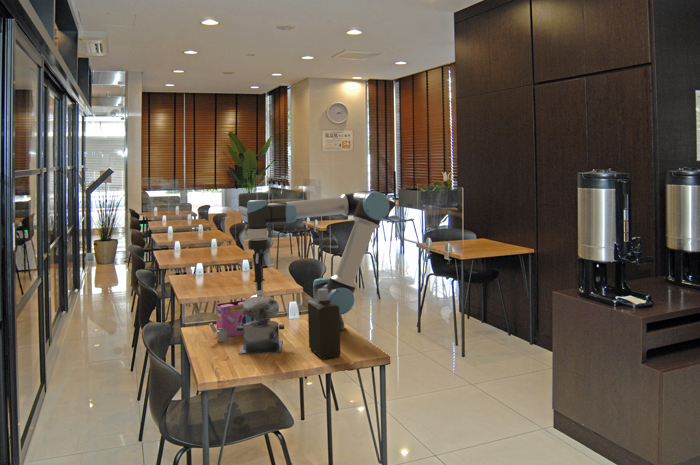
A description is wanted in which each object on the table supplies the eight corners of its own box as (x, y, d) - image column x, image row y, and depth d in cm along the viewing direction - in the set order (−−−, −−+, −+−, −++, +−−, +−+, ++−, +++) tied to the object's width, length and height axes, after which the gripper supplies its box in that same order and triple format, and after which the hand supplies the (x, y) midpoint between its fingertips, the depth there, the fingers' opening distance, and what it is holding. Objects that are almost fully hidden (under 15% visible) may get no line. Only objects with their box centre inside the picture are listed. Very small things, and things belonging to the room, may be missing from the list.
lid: (280, 319, 230) (280, 313, 232) (277, 296, 220) (277, 290, 222) (245, 320, 229) (245, 314, 231) (240, 297, 219) (241, 291, 221)
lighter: (227, 339, 235) (226, 321, 234) (227, 340, 233) (226, 322, 232) (210, 341, 233) (209, 322, 232) (210, 342, 231) (209, 323, 231)
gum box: (266, 325, 257) (265, 296, 255) (273, 329, 250) (272, 299, 249) (216, 334, 244) (215, 303, 242) (222, 338, 237) (221, 307, 236)
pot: (286, 339, 234) (285, 317, 233) (283, 352, 216) (282, 329, 215) (241, 340, 232) (240, 319, 232) (235, 354, 215) (234, 330, 214)
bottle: (321, 360, 205) (319, 294, 203) (308, 348, 220) (306, 286, 217) (341, 357, 208) (340, 292, 206) (327, 346, 223) (325, 284, 221)
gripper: (250, 237, 226) (252, 294, 228) (246, 241, 213) (248, 301, 215) (268, 237, 226) (270, 293, 229) (265, 240, 213) (267, 300, 216)
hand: (259, 297), depth 222 cm, fingers closed
